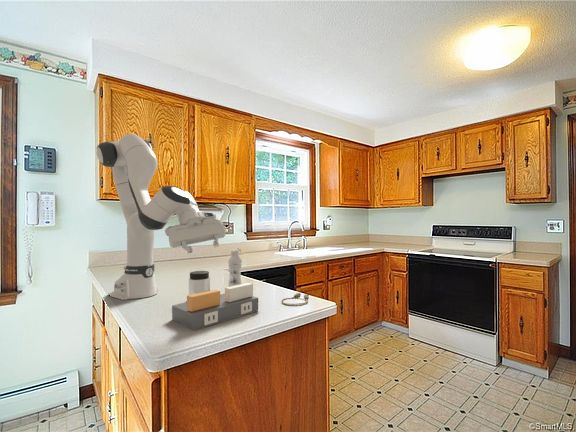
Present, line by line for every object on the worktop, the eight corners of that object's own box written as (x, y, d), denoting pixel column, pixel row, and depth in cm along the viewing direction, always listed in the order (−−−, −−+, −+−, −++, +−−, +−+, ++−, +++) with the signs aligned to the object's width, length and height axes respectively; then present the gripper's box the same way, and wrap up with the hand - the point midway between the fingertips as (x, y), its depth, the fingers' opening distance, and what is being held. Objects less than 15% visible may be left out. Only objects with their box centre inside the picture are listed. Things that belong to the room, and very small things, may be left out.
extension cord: (319, 301, 128) (319, 296, 128) (293, 308, 117) (293, 303, 117) (300, 296, 137) (300, 291, 137) (273, 302, 126) (273, 298, 126)
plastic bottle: (235, 289, 147) (235, 249, 147) (244, 292, 143) (244, 250, 143) (225, 292, 142) (225, 250, 142) (234, 294, 138) (234, 251, 138)
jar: (210, 296, 135) (210, 270, 135) (209, 301, 127) (209, 273, 127) (189, 297, 133) (189, 271, 133) (187, 302, 125) (187, 274, 125)
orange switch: (186, 309, 98) (186, 295, 98) (215, 302, 106) (215, 289, 106) (191, 311, 95) (191, 297, 96) (220, 304, 104) (220, 291, 104)
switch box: (163, 315, 108) (163, 301, 108) (225, 300, 128) (225, 288, 128) (195, 330, 93) (195, 314, 93) (259, 311, 113) (259, 297, 113)
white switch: (224, 300, 109) (224, 287, 109) (248, 294, 117) (248, 282, 117) (229, 301, 107) (229, 289, 107) (252, 296, 115) (252, 283, 115)
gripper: (163, 221, 105) (173, 249, 97) (218, 212, 115) (231, 236, 107) (163, 233, 109) (173, 261, 101) (217, 224, 119) (229, 248, 111)
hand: (203, 248), depth 104 cm, fingers open, 8 cm apart
